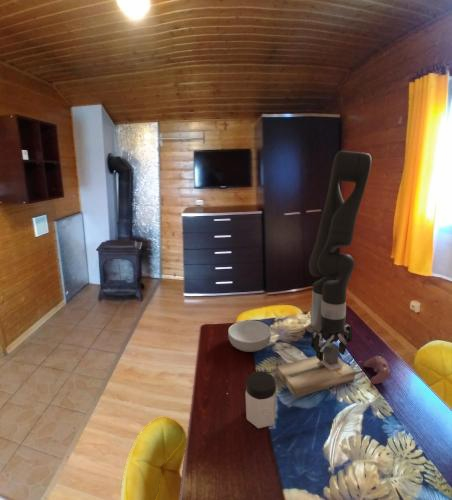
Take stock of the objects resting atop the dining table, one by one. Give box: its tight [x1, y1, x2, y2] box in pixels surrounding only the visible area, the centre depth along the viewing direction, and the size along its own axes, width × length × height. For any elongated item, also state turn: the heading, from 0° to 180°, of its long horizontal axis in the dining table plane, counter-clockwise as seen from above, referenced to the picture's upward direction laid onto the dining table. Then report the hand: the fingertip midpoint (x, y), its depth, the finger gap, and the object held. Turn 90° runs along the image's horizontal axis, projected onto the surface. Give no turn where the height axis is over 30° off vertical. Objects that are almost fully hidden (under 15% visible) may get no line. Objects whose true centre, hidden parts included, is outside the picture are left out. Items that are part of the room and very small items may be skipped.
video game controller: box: [363, 355, 391, 385], centre depth 100 cm, size 10×5×7 cm, turn 169°
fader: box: [319, 342, 343, 371], centre depth 101 cm, size 6×5×7 cm
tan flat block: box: [276, 353, 356, 399], centre depth 101 cm, size 12×22×3 cm, turn 109°
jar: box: [245, 371, 277, 429], centre depth 85 cm, size 9×8×12 cm
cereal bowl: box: [227, 319, 272, 353], centre depth 119 cm, size 17×17×7 cm
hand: (330, 356), depth 102 cm, fingers open, 8 cm apart
